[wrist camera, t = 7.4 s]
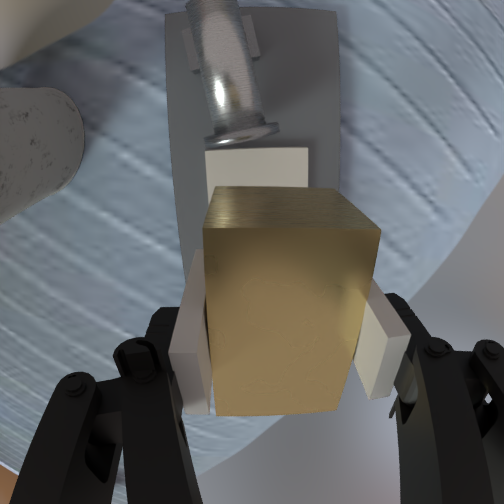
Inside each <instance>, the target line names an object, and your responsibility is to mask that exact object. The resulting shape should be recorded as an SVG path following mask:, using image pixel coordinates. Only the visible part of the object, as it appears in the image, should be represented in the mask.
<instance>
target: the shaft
mask: <svg viewBox="0 0 504 504" xmlns="http://www.w3.org/2000/svg"><path fill="white" fill-rule="evenodd" d="M185 7H186V11H187V16H188V20H189V24H190V28H187V29H183V30H181V31H182V35H183V40H184V44H185V48H186V53H187V57H188V62H189V66H190V70H191V72H192V73H193V74H195V75H196V74H200V73H201V77H202V81H203V85H204V90H205V94H206V98H207V103H208V107H209V111H210V115H211V120H212V124H213V128H214V132H215V134H212V135H209V136H206V137H204V138H203V139H204V143H205V147H206V148H215V147H221V146H226V145H231V144H236V143H241V142H246V141H250V140H255V139H259V138H263V137H267V136H271V135H274V134H277V133H280V128H279V123H278V122H268V123H266V121H265V116H264V111H263V107H262V102H261V98H260V93H259V89H258V84H257V80H256V75H255V71H254V67H253V62H255V61H259V59H260V56H261V55H260V51H259V47H258V43H257V38H256V34H255V30H254V26H253V22H252V18H251V15H246V16H241V13H240V9H239V5H238V1H237V0H190V1H188V2H187V3H186V6H185Z"/></svg>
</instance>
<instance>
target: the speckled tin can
mask: <svg viewBox="0 0 504 504" xmlns="http://www.w3.org/2000/svg"><path fill="white" fill-rule="evenodd" d="M84 137H85V133H84V127H83V121H82V118H81V116H80V113H79V110H78V108H77V107H76V105H75V104H74V102H73V101H72V99H70V98H69V97H68V96H67V95H66V94H65V93H64V92H62V91H59V90H57V89H55V88H49V87H42V88H0V225H1V224H3V223H4V222H6V221H7V220H9V219H11V218H12V217H14V216H15V215H17V214H19V213H20V212H22V211H24V210H25V209H27V208H29V207H30V206H32V205H34V204H35V203H37V202H39V201H41V200H42V199H44V198H46V197H48V196H50V195H54V194H55V193H57V192H59V191H60V190H62V189H63V188H64V187H65V186H66V185H67V184H68V183H69V182H70V181H71V180H72V178H73V177H74V175H75V174H76V172H77V170H78V168H79V165H80V163H81V160H82V155H83V151H84Z"/></svg>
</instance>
